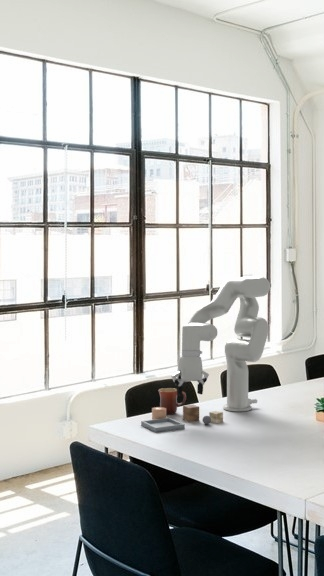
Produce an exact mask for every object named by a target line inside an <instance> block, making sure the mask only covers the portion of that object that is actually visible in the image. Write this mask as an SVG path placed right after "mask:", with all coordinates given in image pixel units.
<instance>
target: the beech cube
mask: <svg viewBox="0 0 324 576" xmlns="http://www.w3.org/2000/svg"><path fill="white" fill-rule="evenodd" d="M208 416H209V417H210V418H211V423H214V424H219V423H222V422H224V412H222V411H218V410H214V411H210V412H209V413H208Z"/></svg>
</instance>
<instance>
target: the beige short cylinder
mask: <svg viewBox="0 0 324 576" xmlns="http://www.w3.org/2000/svg"><path fill="white" fill-rule="evenodd" d="M162 418H167V415H166V408H164V407H160V406H156V407H155V406H154V407H151V420H154V419H162Z"/></svg>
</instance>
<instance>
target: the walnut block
mask: <svg viewBox="0 0 324 576" xmlns="http://www.w3.org/2000/svg"><path fill="white" fill-rule="evenodd" d="M182 421H185V422H188V423H192V422H194V423H195V422H200V406H199V405H196V404H187V405H185V404H183V405H182Z"/></svg>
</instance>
